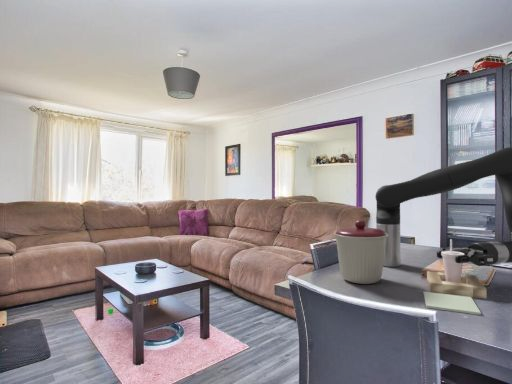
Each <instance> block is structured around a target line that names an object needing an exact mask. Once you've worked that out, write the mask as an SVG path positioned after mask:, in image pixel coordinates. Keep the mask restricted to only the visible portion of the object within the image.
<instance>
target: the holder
mask: <svg viewBox="0 0 512 384" xmlns="http://www.w3.org/2000/svg"><path fill="white" fill-rule="evenodd" d="M426 280H427V284H428V288H429V292H431V293H440V294H449V295H457V296H466V297H471V298H476V299H484V300H486V299H487V287H486V286H485V285H484V284H483V282H482V281H481V280H480V279H479V277H477V275H473V274H463V273H461V280H460V283H457V282H447V281H446V278H445V272H441V271H440V272H439V271H428V270H427V271H426Z"/></svg>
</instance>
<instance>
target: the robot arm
mask: <svg viewBox="0 0 512 384" xmlns="http://www.w3.org/2000/svg"><path fill="white" fill-rule="evenodd" d="M492 176H495V177H496V180H497V183H498V186H499V191H500V192H501V198H502V202H503V203H502V204H503V209H504V214H505V219H506V220H505V221H506V224H507V230H508V231H509V232H510V233H512V146H510V147H509V146H508V147H504V148H502V149H499V150H496V151H494V152H492V153H489V154H487V155H484V156H482V157H479V158H476V159H472V160H468V161H464V162H459V163H456V164H453V165H448V166H445V167H442V168H439V169H435V170H432V171H428V172H426V173H424V174H422V175H419V176H418V177H414V178H412V179H411V180H406V181H403V182H399V183H393V184H387V185H386V184H385V185H382V186H380V187H379V188H378V189H377V191H376V193H375V201H376V217H375V218H376V219H375V220H376V221H375V222H376V224H375V225H376V227H375V229H380V230H382V231H384V232H385V233H387V234H388V237H386V245H385V255H384V264H383V267H392V268H393V267H394V268H395V267H400V266H401V265H402V264H401V262H402V259H401V254H402V253H401V204H402V203H406V202H408V201H410V200H414V199H419V198H424V197H430V196H434V195H440V194H444V193H447V192H450V191H454V190H457V189H461V188H463V187H466V186H468V185H470V184H473V183H475V182H476V181H479V180H481V179H484V178H487V177H492ZM442 251H450V247H443V248H442V250H438V251H436V258H438V259H443V257H442V255H441V252H442ZM452 251H456V252H461V253H464V254H465V255H458V256H456V257H455V262H456V263H463V264H465V263H467V264H474V266H477V267H486V266H495V265H501V264H506V263H507V264H508V263H512V240H505V241H480V242H472V243H470V244H469V246H468V247H462V248H459V247H456V246H452Z"/></svg>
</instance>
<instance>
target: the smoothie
mask: <svg viewBox="0 0 512 384" xmlns="http://www.w3.org/2000/svg"><path fill="white" fill-rule="evenodd" d="M452 247H453V239H451V238H450V239H449V248H450V251H442V250H441V251H442V252H441V255H442V257H443V258H442V263H443V264H442V265H443V271H444V273H445V278H446V281H447V282H457V283H460V280H461V274H463V273H462V271H463V266H464V265H463V264H464V263H456V262H455V257H456V256H458V255H465V254H464V253H461V252H456V251H452Z"/></svg>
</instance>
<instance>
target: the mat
mask: <svg viewBox="0 0 512 384" xmlns="http://www.w3.org/2000/svg"><path fill="white" fill-rule="evenodd" d="M423 298H424V302H425V306H426V307H425V308H427V309H432V310H433V309H434V310H440V311H441V310H442V311H448V312H453V313H454V312H456V313H462V314H469V315H470V314H471V315H477V316H482V312H481V310H480V309H479V307H478V306H477V305H476V303H475V301H474V300H473V297H466V296H457V295H449V294H440V293H432V292H430V291H423Z"/></svg>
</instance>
